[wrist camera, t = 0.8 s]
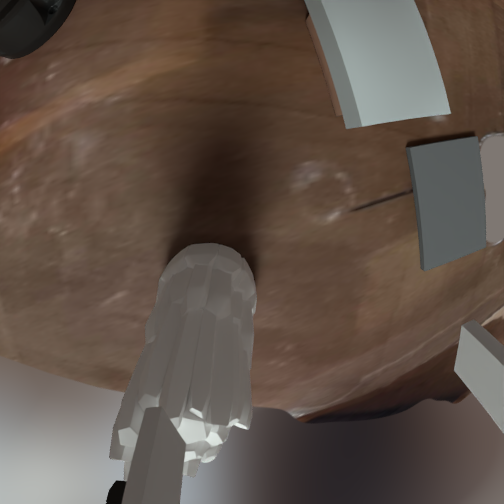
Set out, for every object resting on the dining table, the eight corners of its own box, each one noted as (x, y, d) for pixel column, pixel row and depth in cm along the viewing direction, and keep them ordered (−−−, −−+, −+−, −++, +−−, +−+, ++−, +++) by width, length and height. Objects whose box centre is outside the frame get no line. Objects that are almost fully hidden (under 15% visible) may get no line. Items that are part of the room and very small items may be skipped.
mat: (405, 147, 32) (409, 147, 31) (472, 136, 32) (477, 136, 31) (420, 268, 37) (424, 271, 36) (481, 245, 37) (485, 247, 36)
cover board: (301, -7, 22) (309, -25, 18) (386, -9, 22) (402, -23, 18) (346, 128, 27) (362, 126, 23) (428, 115, 26) (450, 113, 23)
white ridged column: (253, 240, 35) (286, 414, 11) (256, 323, 38) (279, 510, 15) (157, 245, 35) (49, 402, 11) (170, 326, 38) (118, 503, 14)
